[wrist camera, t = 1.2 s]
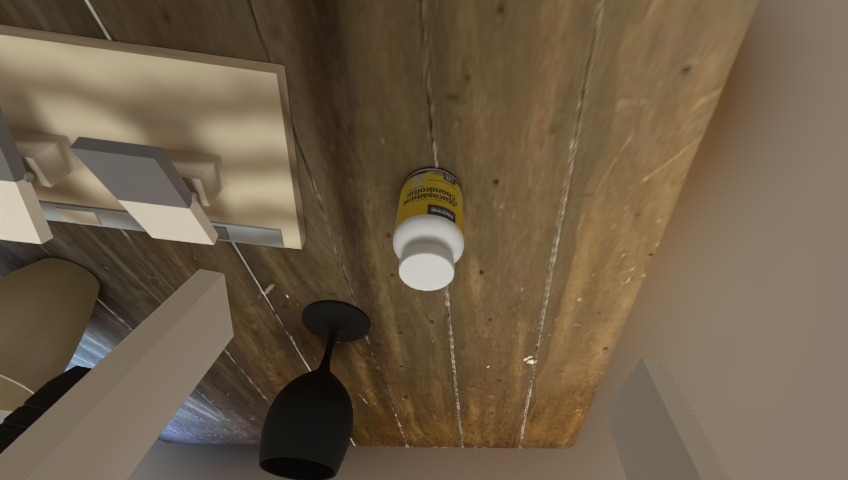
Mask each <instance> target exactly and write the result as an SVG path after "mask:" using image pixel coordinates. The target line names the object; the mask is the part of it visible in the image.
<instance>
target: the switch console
mask: <svg viewBox="0 0 848 480" xmlns="http://www.w3.org/2000/svg"><path fill="white" fill-rule="evenodd" d="M0 107H1V109H2V112H3V114H4V117H5V119H6V122H7V124H8V127H9V129H10V132H11V134H12V137H13V139H14V142H15V144H16V147H17V149H18V152H19V154H20V157H21V159H22V162H23V164H24V167H25V169H26V172H31V173H32V174H33V175H34V180H33V181H32V182H31V184H32V186H33V189H34V191H35V194H36V196H37V199H38V201H39V204H40V206H41V209H42V211H43V214H44V216H45V219H46V220H53V221H61V222H70V223H78V224H87V225H95V226H103V227H112V228H120V229H129V230H137V231H146V230H145V229H144V228H143V227H142V226H141V225H140V224H139V223H138V222H137V221H136V219H135V218H134V217H133V216H132V215H131V214H130V213H129V212H128V211H127V210H126V209H125V208H124V207H123V205H122V204H121V203H120V202H119V201H118V200H117V199H116V198H115V197H114V196H113V195H112V194H111V192H110V191H109V190H108V189H107V188H106V187H105V186H104V185H103V184H102V183H101V182H100V181H99V179H98V178H97V177H96V176H95V175H94V174H93V173H92V172H91V171H90V170H89V169H88V168H87V166H86V165H85V164H84V163H83V162H82V161H81V160H80V159H79V158H78V157H77V156H76V155H75V154H74V152H73V151H72V150H71V149H70V146H71V145H72V144H73V143H74V142H75V140H76V139H77V138H78V137H87V138H94V139H102V140H110V141H117V142H125V143H133V144H141V145H148V146H156V147H162V148H163V149H164V151H165V153H166V154H167V156H168V157H169V159H170V160H171V162H172V163H173V165H174V166H175V168H176V170H177V171H178V173H179V174H180V176H181V177H182V179H183V180H184V182H185V184H186V185H187V187H188V188H189V190H190V191H191V192H193V193H196V194H197V196H198V198H197V202H198V204H199V205H200V207H201V208H202V210H203V212H204V213H205V215H206V216H207V218H208V219H209V221H210V222H211V224H212V226H213V227H214V229H215V230H216V232H217V233H218V238H217V240H222V241H230V242H239V243H247V244H256V245H264V246H273V247H281V248H283V247H287V248H295V249H302V247H303V244H304V242H305V240H306V231H305V224H304V216H303V208H302V200H301V192H300V184H299V176H298V168H297V160H296V152H295V144H294V136H293V129H292V121H291V113H290V105H289V97H288V89H287V81H286V73H285V65H280V64H273V63H266V62H259V61H252V60H245V59H238V58H231V57H224V56H217V55H210V54H203V53H196V52H189V51H182V50H175V49H168V48H161V47H154V46H147V45H140V44H133V43H126V42H119V41H112V40H105V39H98V38H91V37H84V36H77V35H70V34H63V33H56V32H49V31H42V30H35V29H28V28H21V27H14V26H7V25H0ZM146 232H147V231H146Z"/></svg>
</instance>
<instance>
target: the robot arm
mask: <svg viewBox="0 0 848 480" xmlns="http://www.w3.org/2000/svg"><path fill="white" fill-rule="evenodd" d="M233 336H234V335H233V329H232V322H231V316H230V309H229V303H228V296H227V290H226V283H225V277H224V274H223V273H218V272H213V271H208V270H203V269H199V270H198V271H197V272H196V273H195V274H194V275H193V276H192V277H191V278H190V279H189V280H187V281H186V282H185V283H184V284H183V285H182V286H181V287H180V288H179V289H178V290H177V291H176V292H174V293H173V294H172V295H171V296H170V297H169V298H168V299H167V300H166V301H165V302H164V303H163V304H162V305H160V306H159V307H158V308H157V309H156V310H155V311H154V312H153V313H152V314H151V315H150V316H149V317H148V318H146V319H145V320H144V321H143V322H142V323H141V324H140V325H139V326H138V327H137V328H136V329H135V330H134V331H132V332H131V333H130V334H129V335H128V336H127V337H126V338H125V339H124V340H123V341H122V342H121V343H120V344H118V345H117V346H116V347H115V348H114V349H113V350H112V351H111V352H110V353H109V354H108V355H107V356H106V357H104V358H103V359H102V360H101V361H100V362H99V363H98V364H97V365H96V366H95V367H94V368H93V369H91V368H86V367H81V366H75V367H73V368H71V369H70V370H68V371H66V372H64V373H62V374H61V375H59V376H57V377H55V378H53V379H52V380H50V381H48V382H47V383H46V384H45V385H43V386H42V387H41V388H40V389H39V390H38V391H36V392H35V393H34V394H33V395H32V396H31V397H29V398H28V399H27V400H26V401H25V402H24V405H23V406H21V407H20V406H19V407H18V408H17V409H15V410H14V411H13V412H12V413H11V414H10V415H9V416H7V417H6V418H5V419H4V422H3V423H2V424H0V480H126V479H127V478H128V476H129V475H130V474H131V472H132V471H133V470H134V468H135V467H136V466H137V464H138V463H139V462H140V460H141V459H142V457H143V456H144V455H145V454H146V452H147V451H148V450H149V448H150V447H151V446H152V444H153V443H154V442H155V440H156V439H157V438H158V436H159V435H160V434H161V432H162V431H163V430H164V428H165V427H166V426H167V424H168V423H169V422H170V420H171V419H172V418H173V416H174V415H175V414H176V412H177V411H178V410H179V408H180V407H181V406H182V404H183V403H184V402H185V400H186V399H187V398H188V396H189V395H190V394H191V392H192V391H193V390H194V388H195V387H196V386H197V384H198V383H199V382H200V380H201V379H202V378H203V376H204V375H205V374H206V372H207V371H208V370H209V368H210V367H211V365H212V364H213V363H214V361H215V360H216V359H217V357H218V356H219V355H220V353H221V352H222V351H223V349H224V348H225V347H226V345H227V344H228V343H229V341H230V340H231V339H232V337H233ZM605 414H606V417H607V420H608V423H609V426H610V429H611V432H612V435H613V438H614V441H615V444H616V447H617V450H618V453H619V456H620V460H621V463H622V466H623V468H624V472H625V475H626V478H627V480H731V478H730V476H729V475H728V473H727V471H726V469H725V467H724V466H723V464H722V462H721V460H720V458H719V456H718V455H717V453H716V451H715V449H714V447H713V446H712V444H711V442H710V440H709V438H708V437H707V435H706V433H705V431H704V430H703V428H702V426H701V424H700V422H699V421H698V419H697V417H696V415H695V413H694V411H693V410H692V408H691V406H690V404H689V402H688V401H687V399H686V397H685V395H684V393H683V391H682V390H681V388H680V386H679V384H678V382H677V381H676V379H675V377H674V375H673V374H672V372H671V370H670V368H669V366H668V364H667V363H665V362H661V361H656V360H651V359H646V358H641V359H640V361H639V362H638V364H637V365H636V367H635V368H634V370H633V371H632V372H631V374H630V375H629V377H628V378H627V380H626V381H625V383H624V384H623V385H622V387H621V389H620V390H619V391H618V393H617V394H616V396H615V397H614V399H613V400H612V401H611V403H610V404H609V406H608V407H607V409H606V410H605Z"/></svg>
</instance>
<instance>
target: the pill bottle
mask: <svg viewBox="0 0 848 480" xmlns="http://www.w3.org/2000/svg"><path fill="white" fill-rule="evenodd" d="M393 247H394V251H395V253H396V255H397V256H398V258H399V259H400V263H399V275H400V277H401V279H402V280H403V282H404V283H406V284H407V285H408V286H410V287H412V288H415V289H418V290H424V291H431V290H437V289H441V288H443V287H445V286H446V285H448V284H449V283H450V282H451V281H452V279H453V277H454V265H455V263H456V262H457V261H458V259H459V258H460V256H461V255H462V252H463V249H464V225H463V197H462V190H461V187H460V184H459V183H458V181H457V180H456V179H455V178H454V177H453V176H452V175H450V174H449V173H447V172H445V171H443V170H439V169H422V170H419V171H417V172H415V173H413V174H412V175H410V176H409V177H408V178H407V179H406V181H405V182H404V184H403V186H402V189H401V194H400V200H399V206H398V211H397V217H396V223H395V230H394V236H393Z"/></svg>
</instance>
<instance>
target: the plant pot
mask: <svg viewBox="0 0 848 480" xmlns="http://www.w3.org/2000/svg"><path fill="white" fill-rule="evenodd" d="M99 289H100V284H99V281H98V280H97V278H96V277H95V276H94V275H93V274H92V273H90V272H89V271H88V270H86V269H85V268H83V267H81V266H79V265H77V264H75V263H73V262H70V261H67V260H63V259H58V258H46V259H42V260H40V261H37V262H35V263H32V264H30V265H28V266H25V267H23V268H20V269H18V270H16V271H14V272H11V273H9V274H7V275H5V276H2V277H0V412H8V413H12V412H13V411H14V410H15V409H17V408H18V407H19V406H20V407H21V406H23V405H24V402H25V401H26V400H27V399H28V398H29V397H31V396H32V395H33V394H34V393H35V392H36V391H38V390H39V389H40V388H41V387H42V386H43V385H45V384H46V383H47V382H48V381H50V380H52V379H53V378H55V377H57V376H59V375H61V374H62V373H64V371H65V370H66V368H67V366H68V364H69V362H70V361H71V359H72V357H73V355H74V353H75V351H76V349H77V347H78V345H79V342H80V340H81V338H82V336H83V334H84V331H85V329H86V327H87V324H88V322H89V319H90V316H91V314H92V311H93V308H94V305H95V302H96V299H97V296H98V293H99Z"/></svg>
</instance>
